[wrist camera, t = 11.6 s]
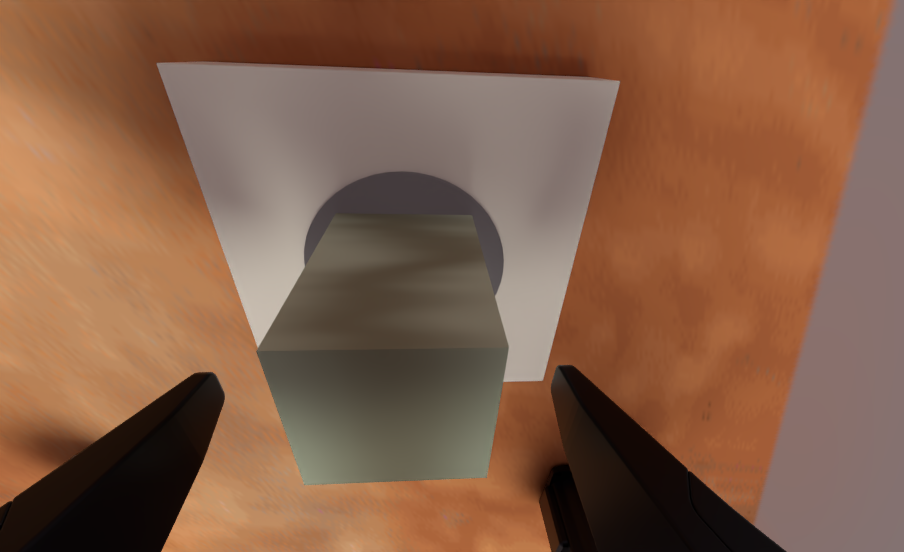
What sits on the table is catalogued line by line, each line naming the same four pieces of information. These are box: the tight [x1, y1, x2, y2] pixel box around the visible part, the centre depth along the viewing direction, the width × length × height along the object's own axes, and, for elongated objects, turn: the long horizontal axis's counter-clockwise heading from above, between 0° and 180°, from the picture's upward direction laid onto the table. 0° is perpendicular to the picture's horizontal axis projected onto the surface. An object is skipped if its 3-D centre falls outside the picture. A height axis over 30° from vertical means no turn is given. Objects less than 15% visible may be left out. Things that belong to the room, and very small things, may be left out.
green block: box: [256, 213, 509, 485], centre depth 11 cm, size 5×5×7 cm
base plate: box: [156, 61, 620, 382], centre depth 15 cm, size 14×14×3 cm
